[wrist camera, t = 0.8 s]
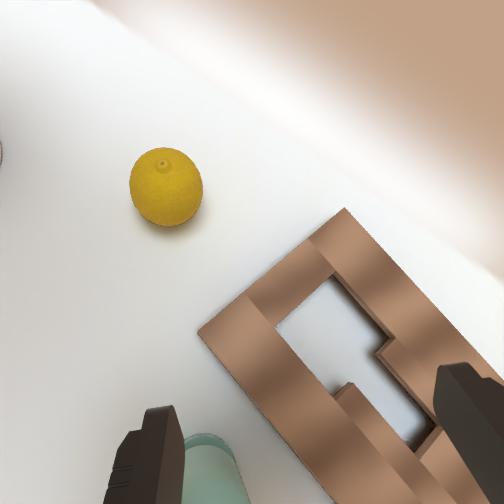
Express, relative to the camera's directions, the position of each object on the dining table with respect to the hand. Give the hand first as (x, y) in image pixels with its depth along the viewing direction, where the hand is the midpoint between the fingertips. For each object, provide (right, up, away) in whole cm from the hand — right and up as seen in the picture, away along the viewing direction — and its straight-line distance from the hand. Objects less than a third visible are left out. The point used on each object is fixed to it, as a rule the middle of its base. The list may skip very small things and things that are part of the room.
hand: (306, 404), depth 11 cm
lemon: (-9, +8, +22) cm, 25 cm away
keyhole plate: (+8, -6, +20) cm, 22 cm away
